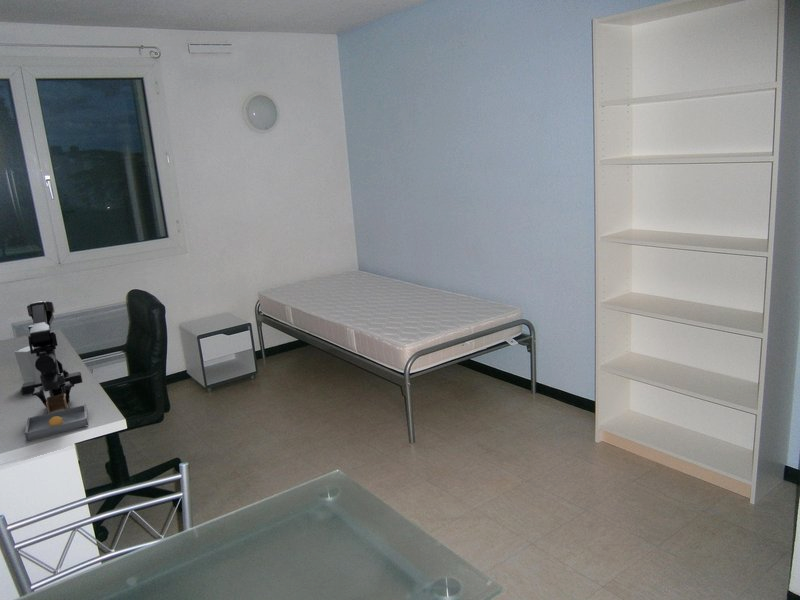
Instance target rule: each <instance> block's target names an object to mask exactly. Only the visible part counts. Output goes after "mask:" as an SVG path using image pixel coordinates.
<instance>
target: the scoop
mask: <svg viewBox="0 0 800 600" xmlns="http://www.w3.org/2000/svg"><path fill="white" fill-rule="evenodd" d="M46 406H47V408H46V410H47V414H48V413H52V412H56V411H61V410H65V409H69V403H68V404H67V401H66V393H65V394H60V395H56V396H51V397H50V396H48V397H46Z"/></svg>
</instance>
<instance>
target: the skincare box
mask: <svg viewBox="0 0 800 600" xmlns="http://www.w3.org/2000/svg"><path fill="white" fill-rule="evenodd" d="M32 347H33V346H32ZM37 348H38V347H37ZM33 350H34V349H33ZM13 353H14V356H15V358H16V363H17V365H18V369H19V371H20V375H21V377H22V380H23V384H24V383H29V382H33V381H34V382H35V384H38V383H41V379H40V371H38V370H37V369H36V367H35V362H36V353H33V354H31V351H30V346H29V345H28V346H25V347H23V348H21V349H17V350H15V351H13Z"/></svg>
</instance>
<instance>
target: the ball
mask: <svg viewBox="0 0 800 600" xmlns="http://www.w3.org/2000/svg"><path fill="white" fill-rule="evenodd" d="M60 424H63V419H62V418H61V417H59V416H54V417H52V418H51V419H50V421H49V425H50V426H51V427H52V426H56V425H60Z"/></svg>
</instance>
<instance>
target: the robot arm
mask: <svg viewBox="0 0 800 600" xmlns="http://www.w3.org/2000/svg"><path fill="white" fill-rule="evenodd" d="M26 309H27V314H28V316H29V317H31V319H32V321H33V323H32V325H33V327H32V328H31V329H30V331H29V335H28V336H27V337H28V339H27V340H28V344H29V345H30V351H31V354H33V353H36V362H35V367H36V369H37V370H38V371H40V379H41V383H38V384H35V382H34V381H33V382H29V383H24V382H23V383H22V385H21V387H20V392H21V395H22V396H28V395H32V396H34V397H35V396H36V397H37V398H39V400H40V401H41V402H42V404H43V405H44V407H45V408H46V409H47V406H46V399H47V397H46V395H45V393H44V392H48V393H49V397H51V396H56V395H60V394H65V393H66V401H67V404H68V405H69V402H70V399H71V397H70V392H71V390H72V388H74V387H75V385H77V384H82V383H83V375H82V372H81V371H77V372H71V373H69V372H68V371H67V369H66V368H64V366H63V364H62V363H61V362H60V361H59V360H58V357H57V350H56V349H57V346H59V345H58V338H57V334H56V333H55V331H53V330H52V323H53V321H54V320H55V316H54V313H55V312H56V311H55V306H54V303H53V301H46V300H38V301H33V302H31V303H30V304H28V305H27V306H26ZM29 345H28V346H29ZM32 345H33V347H32ZM37 347H38V348H37ZM33 349H34V350H33Z"/></svg>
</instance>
